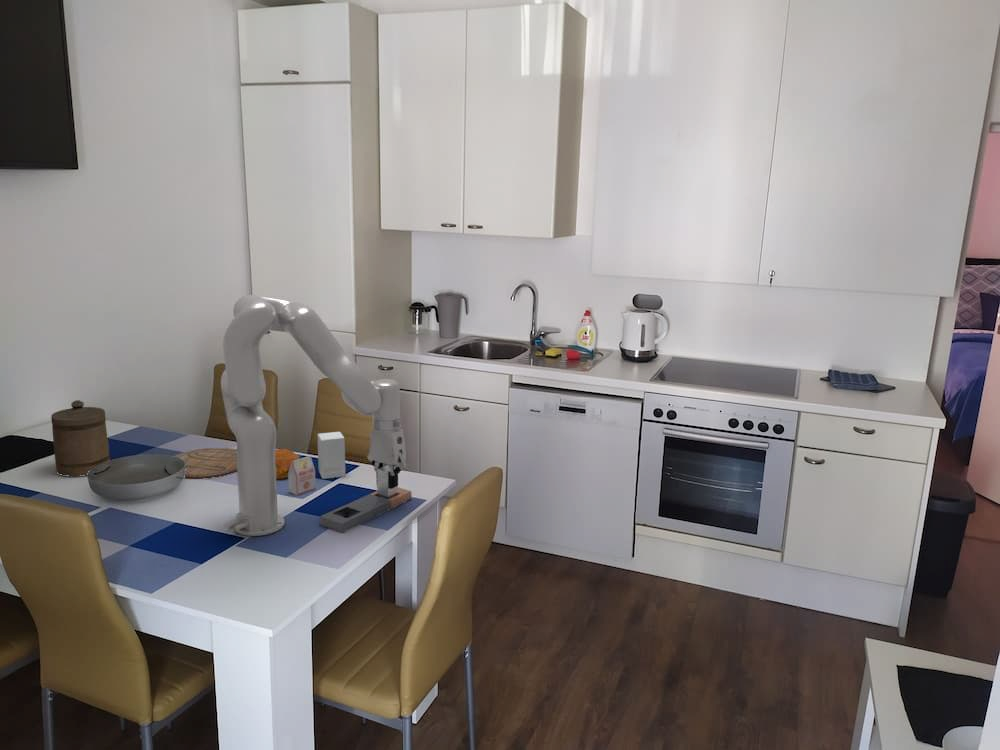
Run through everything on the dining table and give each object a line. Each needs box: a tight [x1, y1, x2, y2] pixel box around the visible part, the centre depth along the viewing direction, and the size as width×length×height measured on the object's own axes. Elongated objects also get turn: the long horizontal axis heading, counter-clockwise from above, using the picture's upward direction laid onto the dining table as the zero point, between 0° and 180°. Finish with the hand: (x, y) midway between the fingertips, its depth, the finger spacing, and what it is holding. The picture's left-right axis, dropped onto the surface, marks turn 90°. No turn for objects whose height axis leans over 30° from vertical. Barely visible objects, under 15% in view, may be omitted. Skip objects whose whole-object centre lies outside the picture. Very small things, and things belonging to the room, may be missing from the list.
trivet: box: [172, 447, 237, 480], centre depth 246 cm, size 25×25×2 cm
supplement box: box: [317, 431, 346, 480], centre depth 240 cm, size 7×7×13 cm
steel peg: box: [376, 464, 398, 499], centre depth 219 cm, size 4×4×8 cm
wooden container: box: [50, 399, 111, 477], centre depth 237 cm, size 15×15×22 cm
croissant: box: [275, 448, 301, 480], centre depth 241 cm, size 14×16×8 cm
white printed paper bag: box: [287, 455, 316, 496], centre depth 226 cm, size 4×7×10 cm, turn 141°
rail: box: [319, 486, 412, 533], centre depth 213 cm, size 28×8×2 cm, turn 147°
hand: (387, 484), depth 219 cm, fingers closed on steel peg, 4 cm apart
